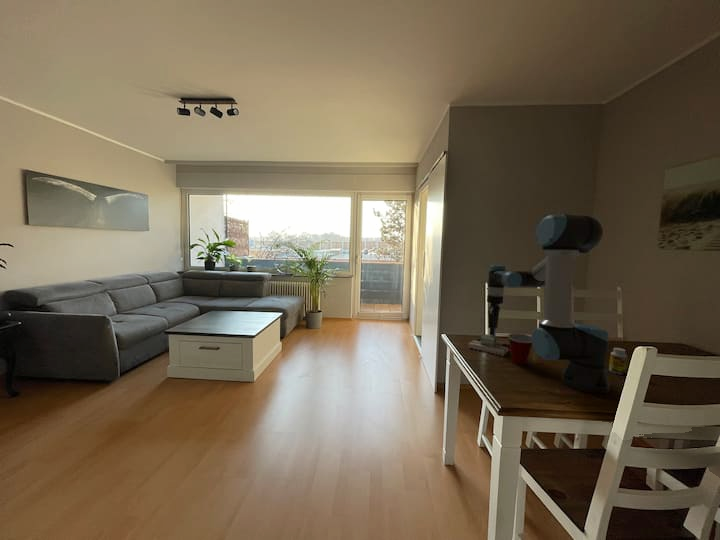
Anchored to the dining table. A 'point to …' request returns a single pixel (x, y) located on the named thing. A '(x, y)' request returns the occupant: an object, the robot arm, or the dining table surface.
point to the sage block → (489, 340)
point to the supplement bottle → (618, 361)
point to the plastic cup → (519, 347)
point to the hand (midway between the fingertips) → (492, 340)
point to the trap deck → (498, 349)
